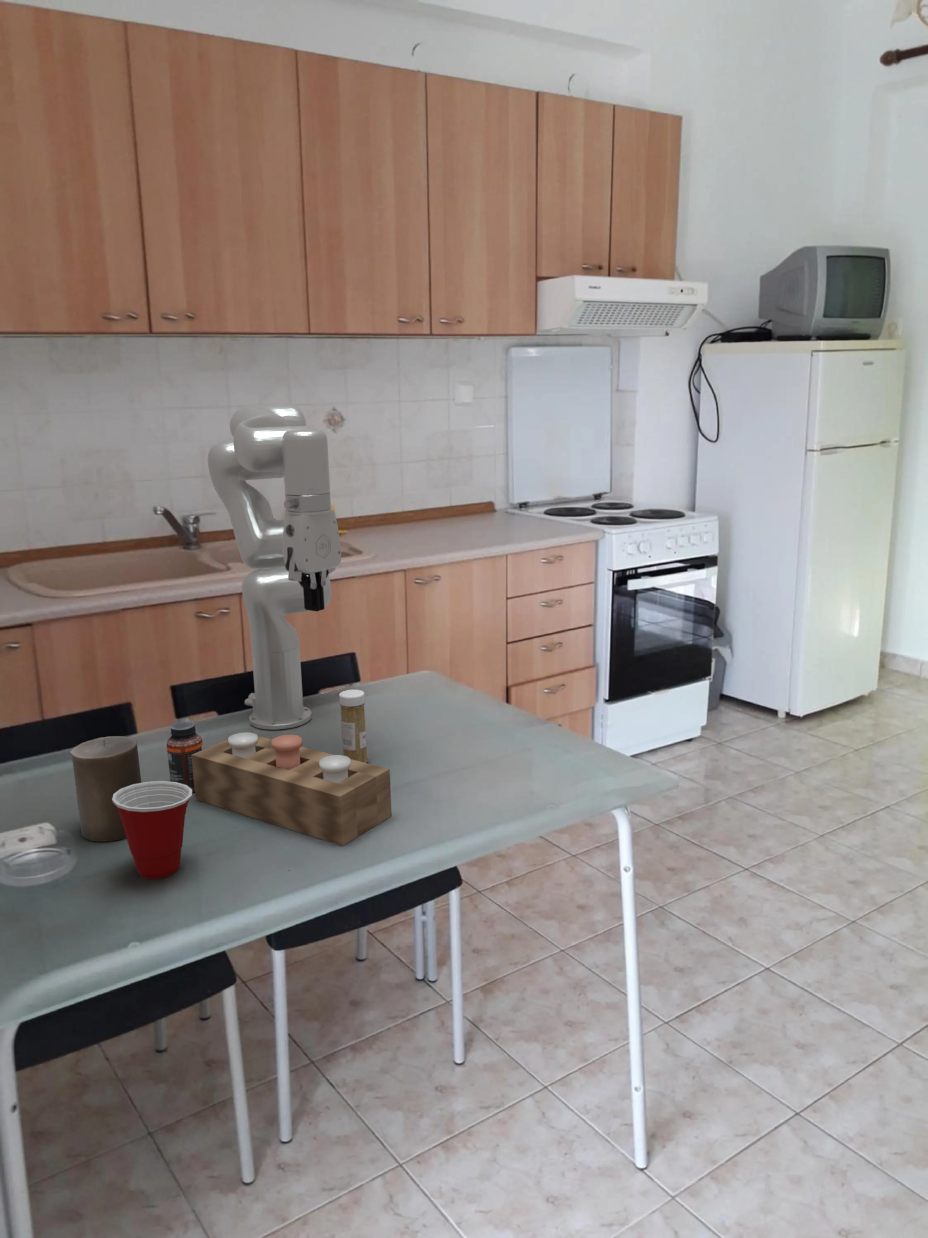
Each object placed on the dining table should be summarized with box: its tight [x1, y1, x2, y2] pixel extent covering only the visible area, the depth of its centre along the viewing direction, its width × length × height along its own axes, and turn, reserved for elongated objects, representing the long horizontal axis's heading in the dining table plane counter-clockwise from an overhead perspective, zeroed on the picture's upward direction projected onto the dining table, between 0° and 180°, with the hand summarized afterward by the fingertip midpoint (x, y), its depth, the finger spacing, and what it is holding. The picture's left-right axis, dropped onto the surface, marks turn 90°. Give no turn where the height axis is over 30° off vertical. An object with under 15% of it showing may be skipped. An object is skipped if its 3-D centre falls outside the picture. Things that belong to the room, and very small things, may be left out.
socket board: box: [191, 735, 392, 847], centre depth 159 cm, size 32×12×8 cm, turn 57°
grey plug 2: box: [319, 754, 351, 783], centre depth 153 cm, size 5×5×10 cm
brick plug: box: [271, 734, 303, 770], centre depth 158 cm, size 5×5×10 cm
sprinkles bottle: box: [338, 689, 369, 763], centre depth 176 cm, size 5×5×14 cm
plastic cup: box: [112, 780, 193, 880], centre depth 139 cm, size 11×11×12 cm
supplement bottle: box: [166, 721, 204, 793], centre depth 167 cm, size 6×6×11 cm
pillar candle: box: [70, 735, 143, 842], centre depth 152 cm, size 10×10×15 cm
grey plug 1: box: [227, 732, 259, 758], centre depth 164 cm, size 5×5×10 cm
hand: (314, 609), depth 169 cm, fingers closed
